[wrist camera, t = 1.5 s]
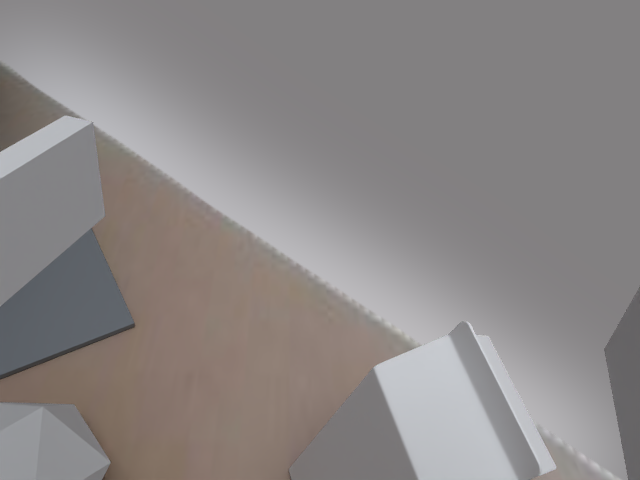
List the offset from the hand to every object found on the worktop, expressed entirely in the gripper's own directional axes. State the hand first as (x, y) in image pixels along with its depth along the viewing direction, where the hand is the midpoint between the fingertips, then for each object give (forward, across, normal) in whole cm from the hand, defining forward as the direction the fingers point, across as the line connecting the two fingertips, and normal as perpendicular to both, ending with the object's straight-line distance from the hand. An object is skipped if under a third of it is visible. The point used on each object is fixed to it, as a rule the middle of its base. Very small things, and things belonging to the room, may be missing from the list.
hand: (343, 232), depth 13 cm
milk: (+11, +1, -29) cm, 31 cm away
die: (+4, -17, -27) cm, 32 cm away
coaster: (+14, -24, -22) cm, 35 cm away
